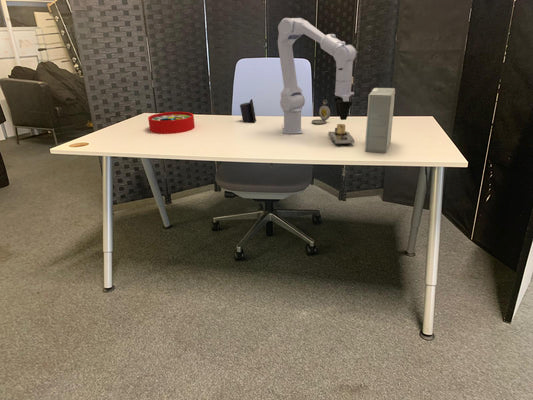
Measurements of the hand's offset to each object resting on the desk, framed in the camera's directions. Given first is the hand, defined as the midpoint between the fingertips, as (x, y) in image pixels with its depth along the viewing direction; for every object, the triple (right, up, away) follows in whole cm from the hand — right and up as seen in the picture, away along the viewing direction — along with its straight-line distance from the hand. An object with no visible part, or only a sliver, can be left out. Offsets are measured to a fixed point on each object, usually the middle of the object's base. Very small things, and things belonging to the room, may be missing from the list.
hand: (341, 117), depth 150 cm
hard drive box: (+12, -12, -6) cm, 18 cm away
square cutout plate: (0, -8, +4) cm, 9 cm away
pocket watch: (-4, +4, +32) cm, 32 cm away
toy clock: (-72, +1, +29) cm, 77 cm away
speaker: (-37, +6, +38) cm, 54 cm away
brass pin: (0, -8, +4) cm, 9 cm away
